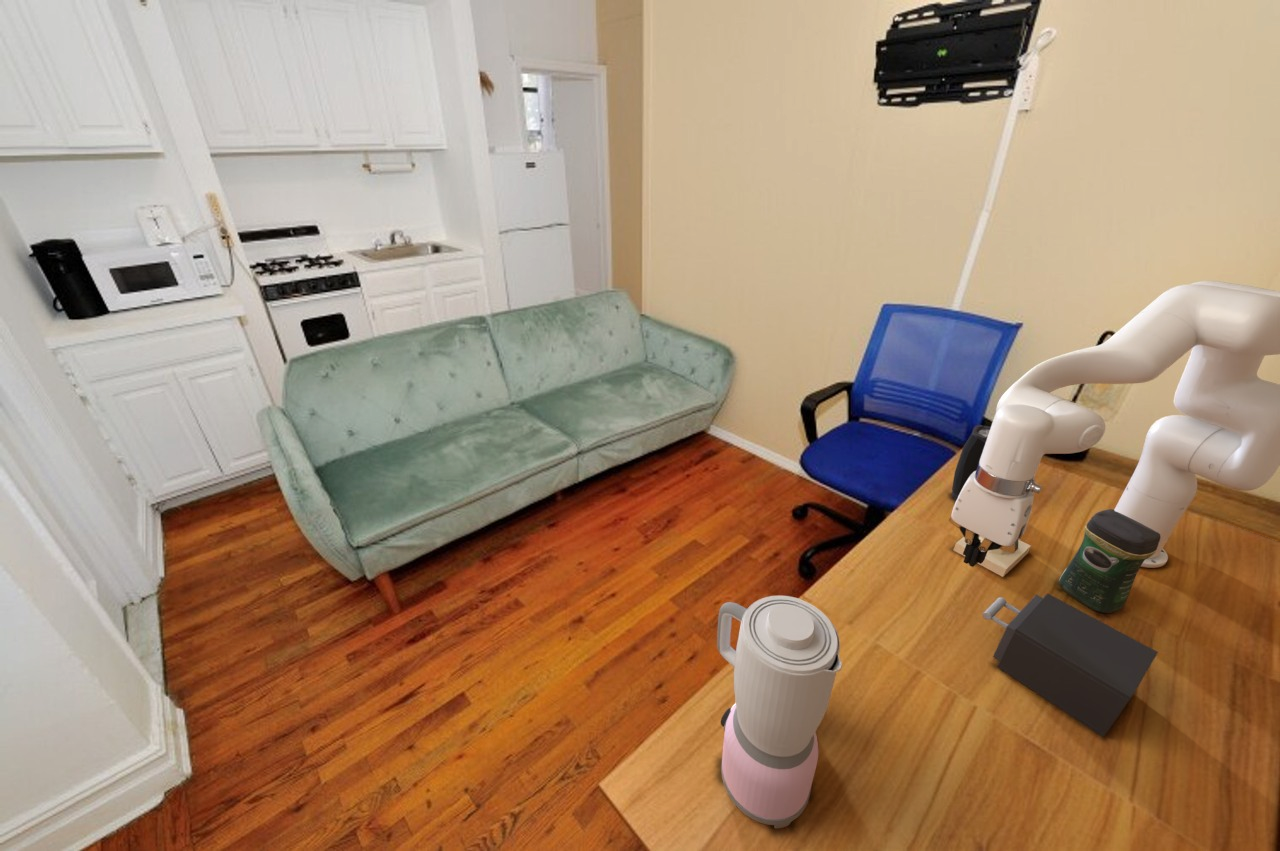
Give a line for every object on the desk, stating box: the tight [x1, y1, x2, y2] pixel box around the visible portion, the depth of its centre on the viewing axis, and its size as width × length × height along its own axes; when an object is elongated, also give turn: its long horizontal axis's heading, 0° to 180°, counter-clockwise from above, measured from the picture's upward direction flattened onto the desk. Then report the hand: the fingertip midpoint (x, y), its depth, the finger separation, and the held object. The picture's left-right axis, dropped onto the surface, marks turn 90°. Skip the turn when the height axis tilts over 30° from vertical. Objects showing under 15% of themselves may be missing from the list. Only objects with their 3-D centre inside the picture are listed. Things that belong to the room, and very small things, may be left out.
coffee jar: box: [1058, 508, 1161, 614], centre depth 95 cm, size 10×8×19 cm
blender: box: [716, 594, 843, 829], centre depth 65 cm, size 16×12×32 cm
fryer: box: [997, 593, 1159, 738], centre depth 82 cm, size 15×13×10 cm
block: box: [953, 535, 1032, 578], centre depth 110 cm, size 12×10×4 cm
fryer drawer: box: [982, 594, 1044, 662], centre depth 84 cm, size 18×11×8 cm, turn 35°
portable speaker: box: [951, 424, 991, 502], centre depth 123 cm, size 9×9×20 cm
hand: (971, 561), depth 91 cm, fingers closed
